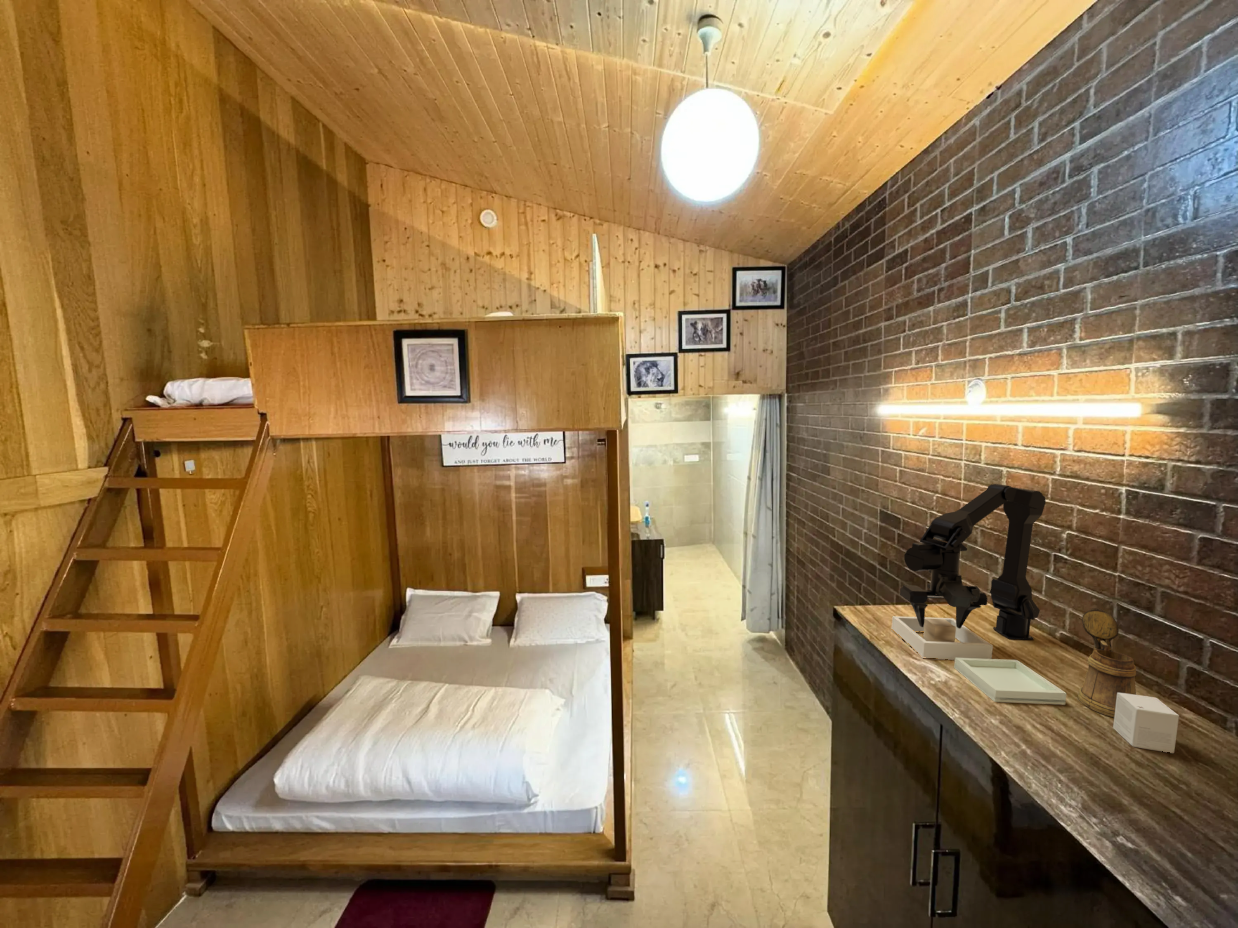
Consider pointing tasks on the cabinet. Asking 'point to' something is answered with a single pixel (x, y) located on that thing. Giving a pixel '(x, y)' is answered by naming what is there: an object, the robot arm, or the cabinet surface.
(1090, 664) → the wooden mug
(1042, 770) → the cabinet surface
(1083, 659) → the cabinet surface
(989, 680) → the sage tray
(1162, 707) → the product box
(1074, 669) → the cabinet surface
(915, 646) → the white square frame
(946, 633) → the birch block
